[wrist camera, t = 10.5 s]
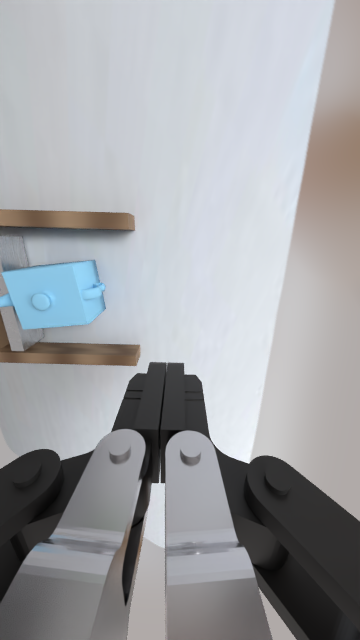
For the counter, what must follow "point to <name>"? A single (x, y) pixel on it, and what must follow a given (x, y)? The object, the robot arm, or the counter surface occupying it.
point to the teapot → (54, 294)
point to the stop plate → (6, 257)
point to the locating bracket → (68, 351)
